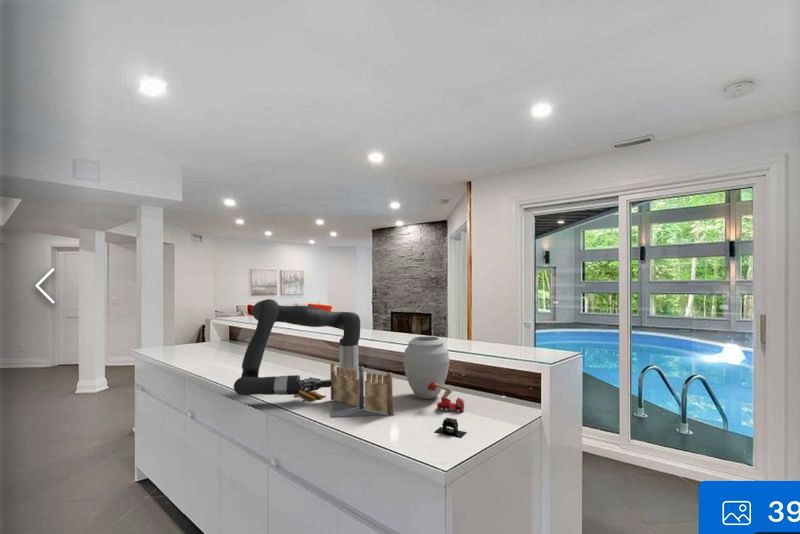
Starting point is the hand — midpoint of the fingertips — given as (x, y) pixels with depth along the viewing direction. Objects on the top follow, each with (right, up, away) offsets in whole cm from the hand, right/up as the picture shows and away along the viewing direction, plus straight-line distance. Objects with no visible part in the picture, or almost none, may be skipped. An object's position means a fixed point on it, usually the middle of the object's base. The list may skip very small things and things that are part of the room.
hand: (330, 383), depth 161 cm
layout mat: (+14, -7, -7) cm, 17 cm away
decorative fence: (-14, -8, +11) cm, 19 cm away
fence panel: (+6, -6, -4) cm, 10 cm away
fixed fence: (+19, -6, -14) cm, 24 cm away
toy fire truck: (+46, -6, -12) cm, 48 cm away
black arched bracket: (+45, -6, -34) cm, 56 cm away
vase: (+40, -7, +5) cm, 40 cm away
